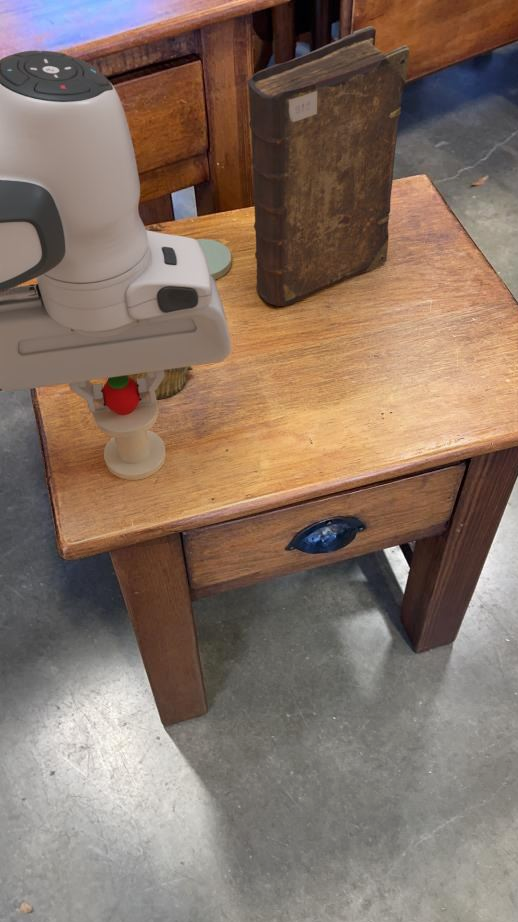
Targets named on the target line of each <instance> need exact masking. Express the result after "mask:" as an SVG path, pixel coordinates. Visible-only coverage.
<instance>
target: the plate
mask: <svg viewBox="0 0 518 922" xmlns="http://www.w3.org/2000/svg"><path fill="white" fill-rule="evenodd" d="M196 240H197V241H198V242H199V243H200V245H201V247H202V250H203V252H204V254H205V257H206V260H207V263H208V267H209V271H210V275H211V276H212V277H213V279H214V280H218V279H220V278H223V277H224V276H225V275H226V274H227V273H228V272H229V271H230V269H231V267H232V263H233V261H232V253H231V250H230V249H229V248H228V246H226V245H225V244H224V243H222V242H221V241H217V240H215V239H209V238H198V239H197V238H196Z"/></svg>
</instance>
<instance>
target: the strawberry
mask: <svg viewBox="0 0 518 922" xmlns="http://www.w3.org/2000/svg"><path fill="white" fill-rule="evenodd" d="M102 387H103V391H102V392H103V396H104V401H105V405H106V406H107V407H108V408H109V409H110V410H112V411H114V412H115V413H117V414H119V415H128V414H130V413H132V412H133V411H134V409H135V407H136V406H137V405H138V403H139V401H140V397H139V392H138V385H137V383H136V382H135V381H134V380H133V379H132V378H130V377H128V376H127V375H125V376H118V377H111V378H107V380H106V381H105V383H104V385H103V386H102Z"/></svg>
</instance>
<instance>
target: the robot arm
mask: <svg viewBox="0 0 518 922" xmlns="http://www.w3.org/2000/svg"><path fill="white" fill-rule="evenodd" d="M138 171H139V170H138V165H137V160H136V153H135V149H134V145H133V139H132V135H131V131H130V127H129V123H128V119H127V116H126V113H125V109H124V106H123V104H122V100H121V98H120V96H119V93H118V92H117V90H116V88H115V87H114V85H113V84H112V82H111V81H110V80H109V79H108V77H106V76H105V75H104V74H103V73H102V72H101V71H100V70H98V68H96V67H95V66H93V65H92V64H90V63H89V62H87V61H85V60H84V59H81V58H77V57H75V56H72V55H69V54H67V53H63V52H58V51H51V50H26V51H25V50H24V51H20V52H19V51H18V52H16V53H13V54H9V55H7V56H5V57H2V58H0V390H2V391H4V392H6V393H12V392H19V391H27V390H33V389H40V388H41V389H42V388H47V387H54V386H62V385H69V389H70V390H71V391H72V392H73V393H75V394H76V395H77V396H79V397H80V398H81V399H84V400H85V401H86V402H87V406H88V408H89V412H90V413H92V412H93V411H99V410H105V409H106V405H105V401H104V396H103V392H102V391H103V387H104V386H103V384H102V383H99V384H93V383H91V381H96V380H104V379H108V378H111V377H118V376H125V375H132V374H139V373H146V372H148V373H147V375H146V377H145V378H139V379H137V385H138V392H139V397H140V403H141V404H146V403H153V402H157V403H158V399H157V400H156V394H155V390H156V389H157V388H158V386H159V385H160V383H161V381H162V380H163V378H164V377H165V373H164V370H167V369H174V368H181V367H187V366H191V367H194V366H199V365H200V366H201V365H207V364H215V363H221V362H224V361H225V360H226V359H227V358H228V357H229V356H230V354H231V353H232V351H233V348H232V347H233V346H232V338H231V333H230V329H229V325H228V320H227V316H226V313H225V309H224V305H223V301H222V297H221V295H220V291H219V288H218V286H217V282H216V281H215V280H214V279H213V277H212V276H211V275H210V271H209V267H208V263H207V260H206V257H205V254H204V252H203V250H202V247H201V245H200V243H199V242H198V241H197V239H195V238H193V237H188V236H182V235H175V234H169V233H163V232H158V231H152V230H148V229H146V226H145V224H144V221H143V220H142V218H141V216H140V213H139V204H140V199H141V183H140V177H139V172H138ZM34 279H36V283H32V284H25V283H27V282H30V281H31V280H34ZM23 284H24V285H23Z"/></svg>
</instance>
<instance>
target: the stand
mask: <svg viewBox="0 0 518 922" xmlns="http://www.w3.org/2000/svg"><path fill="white" fill-rule="evenodd" d="M156 400H157V402H153V403H146V404H141V403H140V401H139V403H138V405H137V406H136V407H135V409H134V411H133V412H132V413H130V414H128V415H119V414H117V413H115V412H114V411H112V410H110V409H109V408H108V407H107V406H106V409H105V410H99V411H93V412H91V414H92V420H93V422H94V424H95V426H96V428H97V429H99V430H100V431H101V432H102V433H104V434H105V435H107V436H111V438H109V440H108V441H107V443H106V445H105V446H104V449H103V459H104V463H105V467H106V468H107V470H108V471H109V472H110V473H111V474H112V475H114V476H115V477H116V478H119V479H122V480H128V481H137V480H138V481H139V480H143V479H147V478H149V477H151V476H153V475H154V474H156V473H157V472H158V471H160V469H161V468H163V466H164V464H165V462H166V459H167V450H166V444H165V442H164V440H163V439H162V438H161V436H160V435H159V434H157V433H156V432H155V431H152V430H150V429H151V428H152V427H153V426H154V424H155V423H156V422H157V420H158V417H159V409H160V408H159V404H158V399H156Z"/></svg>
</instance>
